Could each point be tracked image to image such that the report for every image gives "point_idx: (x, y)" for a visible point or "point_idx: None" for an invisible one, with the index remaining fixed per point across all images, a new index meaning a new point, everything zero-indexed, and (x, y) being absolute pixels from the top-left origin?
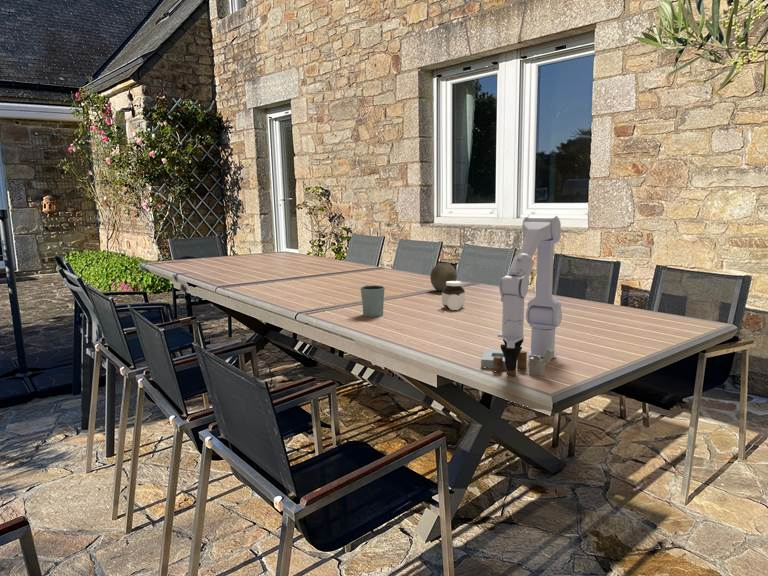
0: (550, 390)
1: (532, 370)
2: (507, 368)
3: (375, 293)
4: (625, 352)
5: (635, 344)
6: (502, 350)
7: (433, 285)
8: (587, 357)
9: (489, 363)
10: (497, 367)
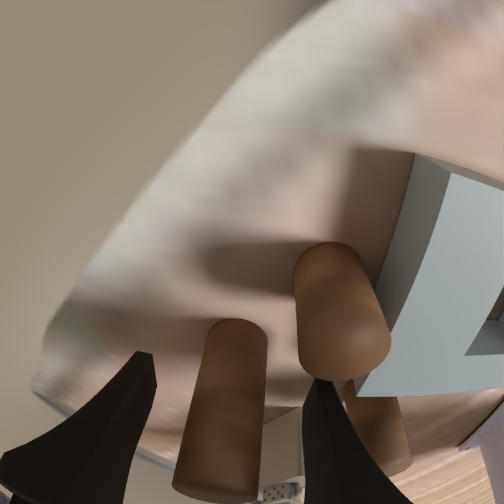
0: None
1: (282, 428)
2: (128, 363)
3: None
4: (440, 499)
5: (474, 494)
6: (14, 451)
7: None
8: (437, 480)
9: (411, 237)
10: (295, 292)
